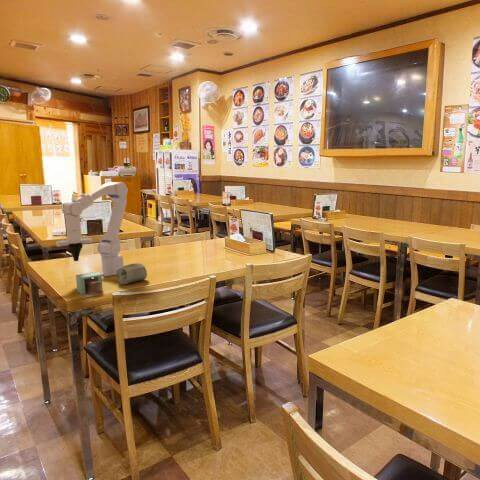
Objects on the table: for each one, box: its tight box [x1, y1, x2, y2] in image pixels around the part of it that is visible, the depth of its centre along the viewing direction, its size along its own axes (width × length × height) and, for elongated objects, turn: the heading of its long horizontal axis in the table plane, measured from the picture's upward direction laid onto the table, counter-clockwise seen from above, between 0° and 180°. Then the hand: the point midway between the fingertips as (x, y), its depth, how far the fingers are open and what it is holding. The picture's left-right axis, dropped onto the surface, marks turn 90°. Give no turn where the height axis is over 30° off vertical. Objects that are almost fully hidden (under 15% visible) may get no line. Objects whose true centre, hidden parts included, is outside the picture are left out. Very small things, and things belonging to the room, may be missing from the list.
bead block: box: [75, 271, 103, 295], centre depth 166 cm, size 8×6×7 cm
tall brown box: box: [84, 277, 102, 296], centre depth 167 cm, size 3×13×5 cm, turn 44°
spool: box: [116, 262, 148, 286], centre depth 179 cm, size 14×10×10 cm
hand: (76, 260), depth 178 cm, fingers closed
